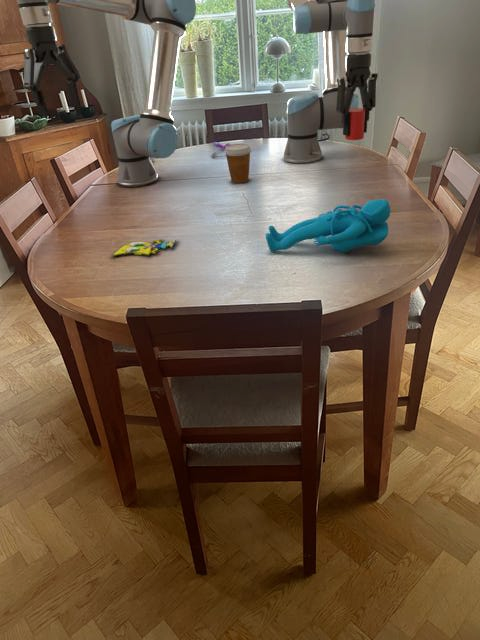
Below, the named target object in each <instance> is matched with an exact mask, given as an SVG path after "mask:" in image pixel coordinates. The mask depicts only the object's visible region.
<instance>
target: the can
mask: <svg viewBox="0 0 480 640" xmlns="http://www.w3.org/2000/svg"><path fill="white" fill-rule="evenodd" d="M348 114H350V136H346V135H344V136H345V137H344V138H345V140H346V141H360V140H364V137H365V133H364V123H365V109H363V107H362V108H360V107H358V108H354V109H349V112H348Z"/></svg>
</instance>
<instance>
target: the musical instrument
mask: <svg viewBox="0 0 480 640" xmlns="http://www.w3.org/2000/svg"><path fill="white" fill-rule="evenodd" d="M212 144H213V145H214V146H217V147H219V149H217V150H216V151H215V152H213V153H212V154H211V156H212V157H213V158H215V157H217V158H222V157H226V154H224V155H216V154H217V153H218V152H219V151H221V150H222V149H224V150H225V147H226V146H228V145H232V144H233V143H226V144H221V143H220V142H218V141H213V142H212Z"/></svg>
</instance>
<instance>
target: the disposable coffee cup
mask: <svg viewBox="0 0 480 640" xmlns="http://www.w3.org/2000/svg"><path fill="white" fill-rule="evenodd" d="M231 144H232V145H228V146H226V147H225V149H224V151H223V152H224V155H226V156H225V157H226V162H227V168H228V173H229V176H230V180H231V182H232V183H234V184H244V183H246V182H248V181H249V179H250V178H249V177H250V162H251V161H250V160H251V151H252V148H251V146H250V144H248V143H244V142H243V143H231Z"/></svg>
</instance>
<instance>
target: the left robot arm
mask: <svg viewBox="0 0 480 640" xmlns="http://www.w3.org/2000/svg"><path fill="white" fill-rule="evenodd" d="M16 2H17V6H18V10H19V13H20V17H21V18H20V19H21V21H22V25H23V26H25V29H24V32H25V35H26V39H27V42H28V44H29V45H30V46H31V48H23V50H22V55H23V58H24V60H23V83H22V84H23V85H22V86H23V89H24V90H27V91H29V92H30V93H31V95H32V99H33V103H34V104H35V105H36V107H37V112H38V115H39V117H49V115H50V114H49V110H48V107H47V103H46V100H45V97H44V93H43V90H42V89H40V87H41V83H42V80H43V76H44V71H45V69H46V68H47V66H54V67H55V68H56V69H57V70H58V72H59V73H60V74H61V75H62V76H63V78H65V80H66V81H67V82H66V87H67V91H68V95H69V99H70V104H71V107H72V108H80V107H82V105H81V100H80V97H79V89H78V84H77V83H79V82H80V79H81V75H80V73H79V71H78V70H77V67H76V66H75V63H74V62H73V61H72V59H71V57H70V55H69V53H68V50H67V48H66V45H65V44H62V43H61V44H57V43H56V42H57V40H58V39H57V33H56V29H55V27H54V26H53V25H52V24H53V18H52V14H51V12H50V11H51V10H50V7H49V4H51V5H60V6H65V7H71V8H78V9H81V10H88V11H93V12H99V13H106V14H111V15H116V16H121V18H122V19H123V20H126V21H131V22H136V23H140V24H143V25H148V26H150V28H151V29H152V31H153V42H152V50H151V57H150V68H149V76H148V83H147V92H146V99H145V100H146V102H145V109H144V110H142V111H141V112H140V114H137V115H130V116H126V117H122V118H118V119H114V120H112V122H111V124H110V127H111V134H112V138H113V142H114V146H115V151H116V156H117V160H118V167H117V168H118V170H117V183H118V186H120V187H123V188H124V187H125V188H136V187H137V188H138V187H145V186H147V185H148V186H149V185H151V184H154V183H156V182H157V181H158V180H159V176H158V172H157V169H156V168H155V166H154V163H153V159H166V158H170V157H171V155H173V154H174V153H175V151H176V150H177V148H178V145H179V140H180V139H179V133H178V132H177V131H178V130H177V128H176V127H175V126H174V125H175V124H174V123H175V119H174V118H173V116H172V115H171V113H172V106H173V97H174V90H175V81H176V74H177V68H178V67H177V66H178V58H179V52H180V51H179V50H180V44H181V39H182V38H183V37H184V36H186V33H187V25H189V24H190V23H192V22H193V21H194V19H195V17H196V13H197V4H196V0H16Z"/></svg>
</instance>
